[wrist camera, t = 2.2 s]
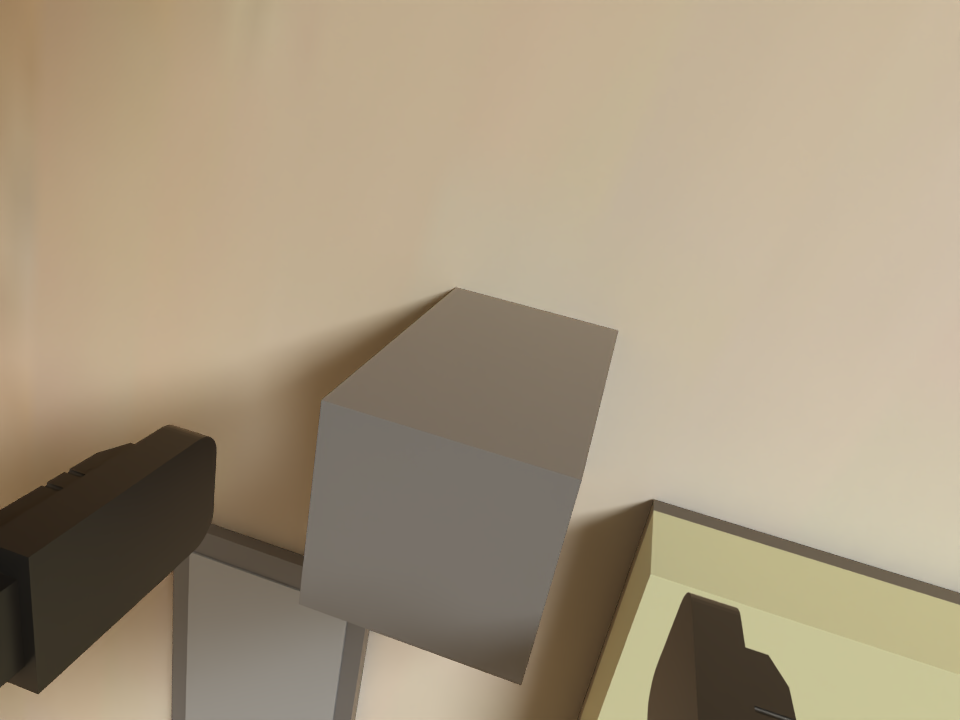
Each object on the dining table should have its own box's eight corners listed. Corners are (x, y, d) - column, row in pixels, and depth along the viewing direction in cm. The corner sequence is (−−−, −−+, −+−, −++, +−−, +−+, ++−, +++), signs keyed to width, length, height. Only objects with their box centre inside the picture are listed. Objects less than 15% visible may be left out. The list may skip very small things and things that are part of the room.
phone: (195, 504, 22) (172, 522, 21) (384, 569, 21) (370, 592, 20) (187, 774, 27) (169, 799, 26) (340, 839, 26) (327, 867, 25)
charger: (456, 287, 17) (321, 400, 10) (618, 330, 16) (581, 480, 10) (429, 431, 18) (298, 607, 12) (575, 476, 17) (520, 688, 11)
